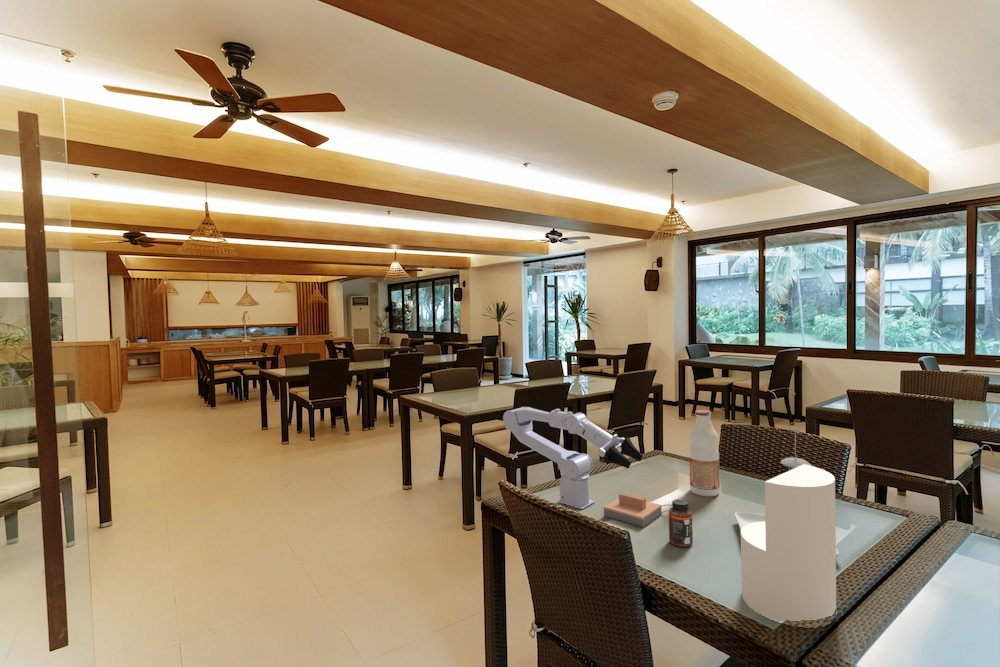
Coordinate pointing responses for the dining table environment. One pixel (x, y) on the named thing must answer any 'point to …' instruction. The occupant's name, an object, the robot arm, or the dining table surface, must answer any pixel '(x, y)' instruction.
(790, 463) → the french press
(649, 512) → the lid
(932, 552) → the dining table surface
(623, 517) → the tub
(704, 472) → the fruit juice
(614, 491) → the dining table surface
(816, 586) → the white stepped round block
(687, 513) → the supplement bottle
